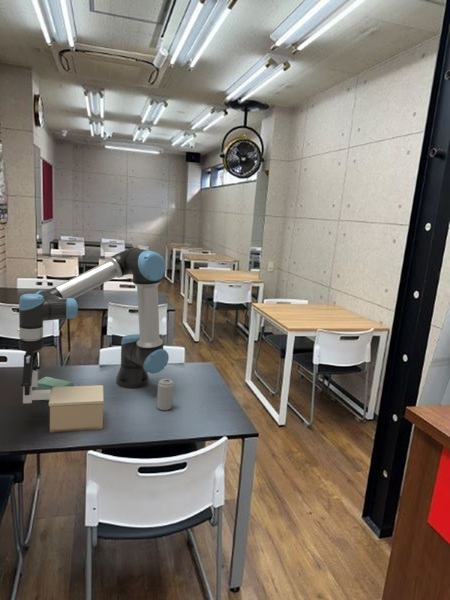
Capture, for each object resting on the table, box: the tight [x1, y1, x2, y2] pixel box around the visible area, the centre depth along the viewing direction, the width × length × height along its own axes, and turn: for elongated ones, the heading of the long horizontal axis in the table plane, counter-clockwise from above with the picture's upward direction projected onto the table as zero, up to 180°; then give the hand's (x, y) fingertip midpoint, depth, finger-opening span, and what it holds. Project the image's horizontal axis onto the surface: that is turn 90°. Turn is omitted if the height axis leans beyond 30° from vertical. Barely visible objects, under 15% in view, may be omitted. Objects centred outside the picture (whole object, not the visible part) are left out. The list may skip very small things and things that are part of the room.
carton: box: [49, 403, 104, 434], centre depth 151 cm, size 18×14×10 cm
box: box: [34, 376, 74, 402], centre depth 168 cm, size 7×14×8 cm, turn 77°
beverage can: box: [156, 378, 174, 411], centre depth 168 cm, size 6×6×12 cm
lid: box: [32, 384, 104, 407], centre depth 149 cm, size 27×14×2 cm, turn 107°
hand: (30, 394), depth 145 cm, fingers open, 13 cm apart
